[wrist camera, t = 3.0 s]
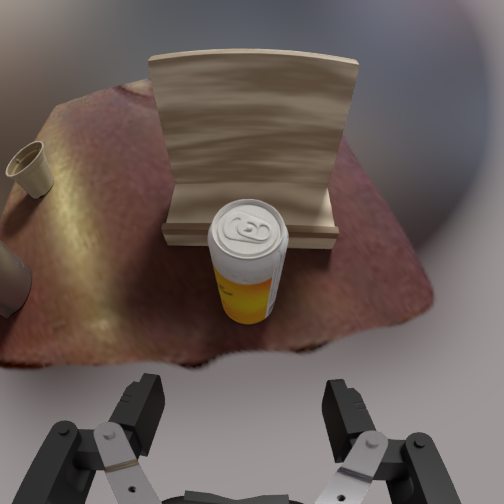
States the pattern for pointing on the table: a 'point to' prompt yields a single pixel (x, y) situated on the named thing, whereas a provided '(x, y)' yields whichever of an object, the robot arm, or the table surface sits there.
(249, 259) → the beer can
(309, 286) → the table surface
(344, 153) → the table surface
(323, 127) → the wall board
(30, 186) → the flower pot
